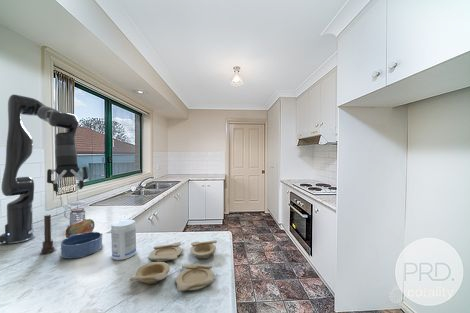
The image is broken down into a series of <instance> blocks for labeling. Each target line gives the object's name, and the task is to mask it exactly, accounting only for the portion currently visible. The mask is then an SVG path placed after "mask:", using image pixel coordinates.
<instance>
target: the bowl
mask: <svg viewBox="0 0 470 313" xmlns="http://www.w3.org/2000/svg"><path fill="white" fill-rule="evenodd" d="M102 247H103V234H102V232H99V231H92V232H87V233H81V234H77V235H73V236H70V237H68V238H66V237H65V238H63V239H62V241H60V255H61V256H60V257H61V258H64V259H77V258H82V257H86V256H89V255H91V254H94V253H96V252H98V251H100V249H102Z"/></svg>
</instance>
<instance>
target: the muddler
mask: <svg viewBox="0 0 470 313" xmlns="http://www.w3.org/2000/svg"><path fill="white" fill-rule="evenodd" d="M43 222H44V225H43V226H44V227H43V228H44V229H43V232H44V241H42V247H41V248H40V250H41V251H40V252H41V255H48V254H50V253H54V251H55V245H54V239H52V216H51V214H45V215H43Z"/></svg>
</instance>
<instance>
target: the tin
mask: <svg viewBox="0 0 470 313" xmlns="http://www.w3.org/2000/svg"><path fill="white" fill-rule="evenodd" d="M81 220H82V221H80V222H77V223H74V224H71V225H70V224H69V225H70V226H69V225H68V226H69V227H68V226H67V227H66V229H65V233H64V234H65V239H66V238H68V237H70V236H73V235H77V234H81V233H87V232H94V229H95V221H94V219H91V218H88V219H87V218H85V220H83V219H81Z"/></svg>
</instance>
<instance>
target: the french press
mask: <svg viewBox="0 0 470 313" xmlns="http://www.w3.org/2000/svg"><path fill="white" fill-rule="evenodd" d="M74 188H76V189H79V185H76V186H75V187H74ZM76 195H77V196H76V200H75V201H72V202H70V203H69V206H68V207H66V208H65V209H64V211H63V216H64V218H66V219H68V220H69V224H68V226H67V228H68V227H69V226H70V225H71V224H74V223H77V222H80V221H82V220H85V219H86V210H85V208H84V207H80V208H79V207H78V206H80V205H81V206H82V205H84V204H86V202H85V201H83V200H78V198H79V197H78V192H76ZM72 206H77V207H76V208H73V209H72ZM68 209H69V210H70V213H69V217H67V211H68Z"/></svg>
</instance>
